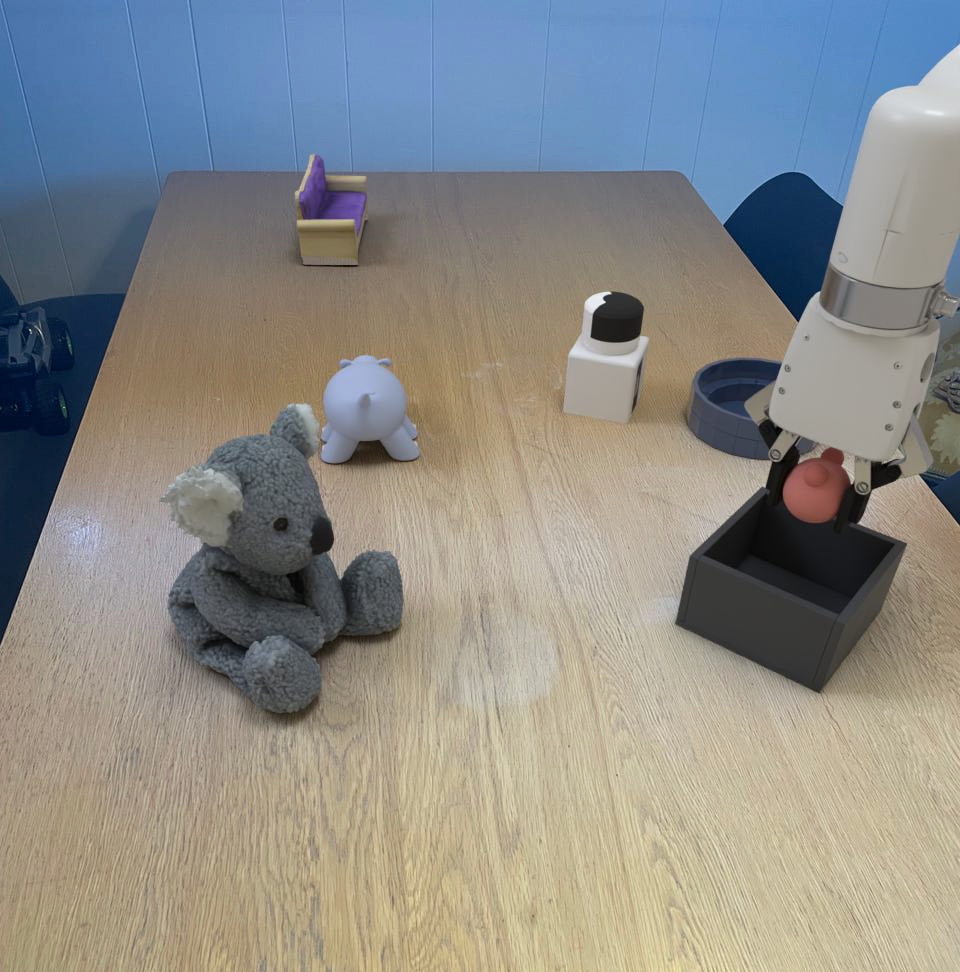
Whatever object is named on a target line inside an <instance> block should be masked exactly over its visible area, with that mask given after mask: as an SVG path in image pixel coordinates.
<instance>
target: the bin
mask: <svg viewBox="0 0 960 972" xmlns="http://www.w3.org/2000/svg"><path fill="white" fill-rule="evenodd" d="M769 492H770V490H768V489H766V486H765V487H764V486H760V488H759V489H758V490H757V491H755V492H754V494H752V495H751V496H750V497H749V498H748V499H747V500H746V501H745V502H744V503H743V504H742V505H741V506H740V507H739V508H737V510H736V511H735V512H734V513H733V514H732V515H730V516H729V517H728V518H727V519H726V520H725V521H724V522H723V523H722V524H721V525H720V526H719V527H718V528H716V530H715V531H714V532H712V533H711V535H709V536H708V537H707V539H705V541H703V542H702V543H701V544H700V545H699V546H698V547H697V548H696V549H695V550H694V551H693V552H692V553H691V554H689V557H688V562H687V567H686V571H685V576H684V579H683V580H684V581H683V586H682V590H681V595H680V600H679V605H678V609H677V613H676V619H675V625H677V626H679V627H681V628H683V629H686V630H687V631H690V632H692V633H694V634H696V635H698V636H700V637H701V638H704V639H706V640H709V641H710V642H713V643H714V644H716V645H718V646H721V647H722V648H725V649H727V650H728V651H731V652H733V653H735V654H738V655H739V656H742V657H744V658H745V659H748V660H750V661H752V662H754V663H757V664H759V665H760V666H763V667H764V668H767V669H769V670H771V671H773V672H775V673H776V674H779V675H781V676H782V677H785V678H787V679H789V680H791V681H794V682H796V683H798V684H799V685H802V686H804V687H806V688H807V689H810V690H812V691H814V692H816V693H821V692H822V690H823V689H824V688H825V687H826V685H827V683H829V682H830V680H831V679H832V678H833V676H834V675H835V673H836V672H837V670H838V669H839V668H840V666H841V665H842V663H843V662H844V661H845V660H846V658H847V657H848V656H849V654H850V653H851V651H852V650H853V649H854V648H855V646H856V645H857V643H858V642H859V641H860V639H861V638H862V637H863V635H864V634H865V632H866V631H867V630H868V628H869V627H870V626H871V625H872V624H873V622H874V621H875V619H876V618H877V616H878V615H879V614H880V613H881V612H882V609H883V606H884V604H885V601H886V599H887V596H888V594H889V591H890V588H891V586H892V584H893V582H894V579H895V577H896V574H897V571H898V569H899V566H900V565H901V562H902V558H903V556H904V554H905V551H906V550H907V549H906V548H907V546H908V542H905V541H903V540H900V539H898V538H894V537H892V536H890V535H887V534H884V533H882V532H880V531H877V530H874V529H872V528H870V527H867V526H864V525H862V524H859V523H858V524H854V523H851V524H850V525H849V526H848V527H847V528H846V529H845V531H844V532H843V533H842V534H841V535H840V534H838V533H835V532H834V531H835V530H833V527H834V524H835V521H836V518H837V516H836V517H835V518H833V519H831V520H829V521H826V522H822V523H809V522H805V521H802V520H800V519H798V518H796V517H795V516H794V515H793V514H792V513H791V512H790V511H789V510H788V508H787V506H786V504H785V502H784V499H783V500H782V501H781V502H780V503H779V504H778V505H777V506H773V507H771V506H768V505H766V503H767V499H768V496H769Z"/></svg>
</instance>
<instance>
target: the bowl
mask: <svg viewBox="0 0 960 972" xmlns="http://www.w3.org/2000/svg"><path fill="white" fill-rule="evenodd" d="M782 363H783V361H779V360H773V359H768V358H762V357H743V356H742V357H732V358H722V359H718V360H715V361H713V362H709V363H706V364H705V365H703V366H702V367H701V368H699V369H698V370H697V371H696V372H695V374H694V375H693V378H692V381H691V386H690V391H689V397H688V402H687V407H686V413H685V419H686V422H687V426H688V428H689V430H690V431H691V432H692V433H693V435H695V436H696V438H697V439H699V440H701V441H702V442H704V443H705V444H707V445H709V446H710V447H711V448H713V449H716V450H718V451H722V452H724V453H726V454H729V455H732V456H738V457H743V458H748V459H752V460H753V459H754V460H769V461H772V460H771V459H770V458H769V455H768V452H769V448H768V446H767V445H766V443H765V441H764V439H763V438H762V436H761V434H760V432H759V429H758V427H759V426H758V425H757V423H756V424H755V422H754V421H753V419H752V418H751V417H750V415H749V414H748V412H747V411H746V409H745V407H744V403H745V402H746V401H747V400H748V399H749V398H750V397H752V396H753V395H754V394H756V393H757V392H759V391H760V390H762V389H763V388H765V387H766V386H768V385H769V384H771V383H772V382H774V381H775V380H776V379H777V377H778V374H779V371H780V368H781V366H782ZM818 444H819V443H818V442H815V441H812V440H810V439H807V438H804V437H802V438H801V439H800V441H799V442H798V444H797V445H796V447H797V450H799V451H800V452H799V454H800V456H801V455H804V454H807V453H809V452H811V451H812V450H814V449H815V447H817V446H818Z"/></svg>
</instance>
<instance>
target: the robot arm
mask: <svg viewBox="0 0 960 972" xmlns="http://www.w3.org/2000/svg"><path fill="white" fill-rule="evenodd" d="M843 203H844V204H843V208H842V211H841V214H840V218H839V222H838V224H837V225H838V226H837V229H836V233H835V237H834V241H833V245H832V247H831V252H830V255H829V258H828V259H829V260H828V263H827V267H826V270H825V274H824V278H823V282H822V285H821V287H820V288H821V289H820V291H817V292H816V293H814V295H813V296H812V297H811V298H809V299H810V300H809V301H808V302H807V305H806V306H805V309H804V311H803V312H802V315H801V317H800V319H799V321H798V323H797V324H796V325H797V326H796V328H795V330H794V332H793V335H792V337H791V339H790V342H789V345H788V347H787V349H786V352H785V355H784V357H783V360H782V362H783V363H782V366H781V368H780V371H779V374H778V377H777V379H776V380H775V381H774V382H772V383H771V384H769V385H768V386H766V387H765V388H763V389H762V390H760V391H759V392H757V393H756V394H754V395H753V396H752V397H750V398H749V399H748V400H747V401H746V402H745V403H744V407H745V409H746V411H747V412H748V414H749V415H750V417H751V418H752V419H753V421H754V422H755V424H756V423H757V425H758V426H759V427H758V429H759V432H760V434H761V436H762V438H763V439H764V441H765V443H766V445H767V446H768V448H769V452H768V455H769V458H770V459H771V460H770V461H771V465H770V467H769V471H768V475H767V479H766V482H765V488H766V489H768V490H770V492H769V496H768V499H767V503H766V505H768V506H771V507H773V506H777V505H778V504H779V503H780V502H781V501H782V500H783V499H784V498H783V486H784V482H785V479H786V477H787V475H788V474H789V472H790V471H791V470H792V469H793V468H794V467H795V466H796V465H797V464H799V463H800V458H801V455H800V454H799V452H800V451H799V450H797V447H796V445H797V444H798V442H799V441H800V439H801V438H802V437H804V438H807V439H810V440H812V441H815V442H818V444H821V445H823V446H827V447H828V448H830V447H832V448H834V449H837V450H840V451H842V452H843V453H846V454H849V455H852V456H854V480H853V482H851V486H850V487H849V488H848V489H847V490H846V492H845V494H844V497H843V500H842V503H841V506H840V509H839V512H838V515H837V518H836V521H835V524H834V527H833V530H835V531H834V532H835V533H838V534H840V535H841V534H842V533H843V532H844V531H845V529H846V528H847V527H848V526H849V525H850V524H851V523H854V524H859V523H860V522H861V520H862V518H863V517H864V514H865V513H866V509H867V506H868V504H869V501H870V498H871V495H872V492H873V491H874V490H877V489H879V488H881V487H884V486H887V485H889V484H892V483H895V482H896V481H898V480H900V479H907V478H910V477H913V476H918V475H920V474H921V475H922V474H924V473H926V472H927V471H928V470H929V469H930V467H932V465H933V464H934V457H933V454H932V452H931V450H930V447H929V445H928V442H927V440H926V438H925V435H924V432H923V430H922V427H921V425H920V422H919V418H920V415H921V412H922V409H923V406H924V402H925V399H926V395H927V392H928V389H929V385H930V381H931V377H932V373H933V369H934V365H935V361H936V356H937V351H938V345H939V340H940V332H941V323H940V321H939V319H937V318H935V317H938V318H939V317H941V316H943V317H946V318H948V319H949V318H950V319H952V318H953V317H954V316H955V314H956V312H957V311H958V308H959V306H960V297H958V296H955V295H951V293H950V292H949V291H947V286H945V284H946V281H947V279H948V277H946V274H947V272H948V269H949V267H950V262H951V260H952V257H953V254H954V252H955V249H956V246H957V243H958V240H959V238H960V43H959V44H958V45H957V46H956V47H954V48H953V49H952V50H951V51H949V52H948V53H947V54H945V56H944V57H942V58H941V59H940V60H939V61H938V62H937V63H936V64H935V65H934V67H932V68H931V69H930V71H928V72H927V73H926V74H925V76H924V77H923V78H922V79H921V80H920V82H919V83H918V84H917V85H907V86H901V87H896V88H893V89H891V90H889V91H887V92H885V93H884V94H882V95H881V96H880V97H879V98H877V100H876V101H875V102H874V104H873V105H872V107H871V109H870V111H869V114H868V117H867V120H866V123H865V127H864V130H863V133H862V137H861V140H860V144H859V148H858V152H857V156H856V159H855V163H854V166H853V171H852V174H851V178H850V181H849V185H848V188H847V192H846V196H845V199H844V202H843ZM900 445H901V447H902V450H903V452H904V454H905V455H904V457H902V458H894V459H892V458H893V457H894V455H895V454H896V451H897V449H898V448H899V447H900ZM891 459H892V460H891Z"/></svg>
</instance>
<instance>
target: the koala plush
mask: <svg viewBox="0 0 960 972" xmlns="http://www.w3.org/2000/svg"><path fill="white" fill-rule="evenodd" d="M320 427H321V424H320V422H318V420H317V419H316V416H315V415H314V410H313V408H312V404H308V403H307V402H305V403H296V404H295V402H294V401H292V403H290V404H288V405H286V407H284V408H282V409H280V410H279V414H278V416H277V417H276V418H275V421H273V424H272V425H271V426H270V429H269V432H268V433H269V435H268V434H263V433H257V434H254V435H253V434H252V435H251V434H248V435H246V436H243V435H242V436H240V437H235V438H232V439H228V440H227V442H224V443H223V444H221V445H219V446H217V447H215V448H214V449H213V452H212V453H211V454H210V455H209V457H208V458H207V460H206V461H205V463H201V464H199V465H195V464H194V465H193V466H190V467H189V468H188V469H187V471H184V472H183V473H181V474H179V475H178V476H175V480H174V482H173V483H172V484H169V485H168V486H167V488H168V491H166V493H165V494H164V495H163V496H161V497H160V500H159V501H158V503H164V505H166V504H169V507H168V508H169V509H168V510H169V515H168V517H169V520H170V521H171V522H175V523H176V524H177V527H176V528H177V529H181V530H183V531H182V534H183V535H187V534H188V535H192V536H193V538H195V539H196V538H198V539H199V540H200V544H201V545H202V546H201V547H200V549H199V550H197V551H196V552H195V554H193V555H192V556H191V558H190V559H189V560H188V561H187V562H186V564H185V566H184V568H182V569H181V572H180V573H179V574H178V576H177V577H176V579H175V580H174V581H173V583H172V586H171V589H169V593H168V597H169V598H168V599H167V606H168V607H167V610H168V614H169V616H170V620H171V622H172V623H173V625H174V627H175V630H176V633H178V635H179V638H180V640H181V641H183V643H185V645H186V648H185V650H186V651H187V652H188V653H189V656H190V657H193V660H194V661H196V662H199V665H201V667H204V668H206V669H208V668H211V669H212V670H213V671H216V672H217V673H220V674H224V675H226V676H227V677H229V679H230V681H231V682H232V683H233V684H234V685H235V686H236V687H237V688H238V689H239V690H241V693H243V694H244V696H245V697H247V698H250V700H251V702H253V703H254V704H255V705H256V706H258V708H260V709H262V710H265V711H269V712H272V713H277V714H284V713H289V714H290V713H293V712H299V711H300V710H304V709H305V708H307V706H308V705H310V704H311V703H312V702H313V700H315V698H316V697H318V696H319V695H320V692H321V691H322V681H323V674H321V667H320V663H318V662H317V659H316V657H312V656H314V655H315V653H317V652H318V651H319V650H320V649H322V648H323V645H324V643H326V644H327V643H328V642H333V640H334V639H336V638H337V637H338V636H344V635H345V636H346V637H349V636H351V637H356V636H367V635H370V636H373V635H375V636H377V635H380V634H382V633H384V632H388V633H390V632H392V631H394V630H396V629H397V628H399V627H400V623H401V622H402V615H403V610H404V603H405V602H404V601H405V599H404V587H403V579H402V574H401V569H400V568H399V562H398V561H399V560H398V559H397V558H396V556H394V555H393V554H392V551H390V550H383V551H376V549H372V550H370V549H367V550H366V551H365V552H361V553H360V554H358V555H356V556H355V557H354V559H352V560H351V563H350V564H349V565H347V567H346V569H345V570H343V574H342V577H341V578H339V575H338V572H337V570H336V567H335V564H334V563H333V560H332V558H331V557H330V555H329V553H328V552H329V551H330V550H332V548H333V546H334V543H335V535H334V530H333V522H332V519H330V517H329V516H328V514H327V510H326V509H325V505H324V502H323V498H322V494H321V493H320V485H319V482H318V480H317V479H316V477H315V475H314V473H313V469H312V468H311V466H310V461H309V460H310V459H311V457H314V456H315V454H316V453H318V452H319V446H320V442H321V440H322V439H320V438H318V434H319V433H320Z"/></svg>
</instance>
